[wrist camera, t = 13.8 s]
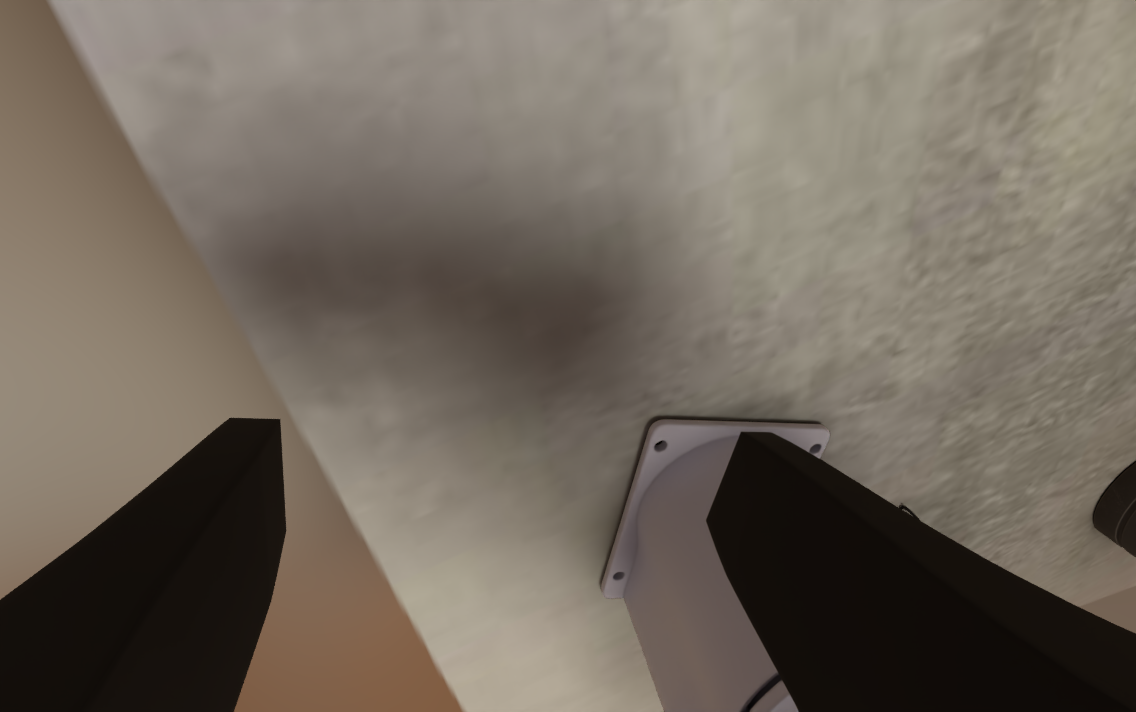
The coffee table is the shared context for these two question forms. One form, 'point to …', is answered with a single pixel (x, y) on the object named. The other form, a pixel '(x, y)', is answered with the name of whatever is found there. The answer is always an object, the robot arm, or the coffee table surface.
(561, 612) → the coffee table surface
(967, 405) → the coffee table surface
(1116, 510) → the flashlight
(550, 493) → the coffee table surface
